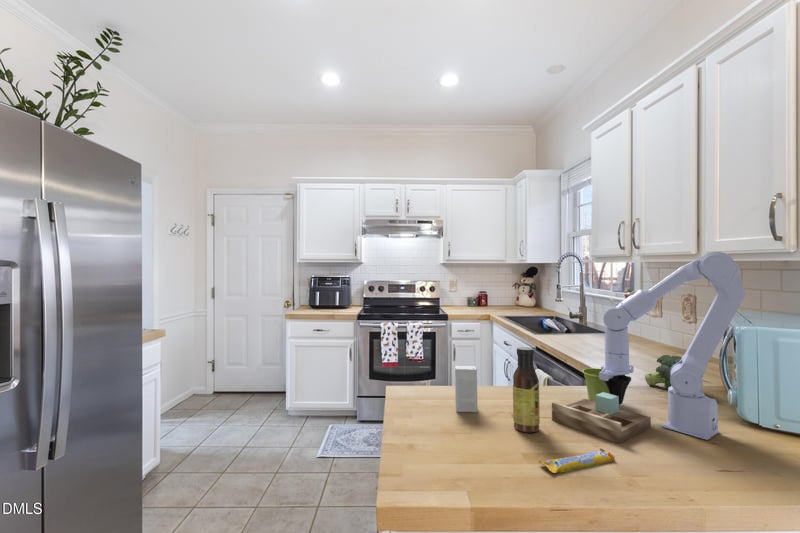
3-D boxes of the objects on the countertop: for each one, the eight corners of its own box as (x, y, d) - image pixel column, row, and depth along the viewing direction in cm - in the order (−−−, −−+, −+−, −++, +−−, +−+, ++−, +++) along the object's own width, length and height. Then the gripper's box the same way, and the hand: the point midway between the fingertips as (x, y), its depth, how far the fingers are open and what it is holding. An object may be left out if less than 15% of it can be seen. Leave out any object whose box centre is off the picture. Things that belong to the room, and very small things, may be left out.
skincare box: (476, 407, 111) (475, 365, 111) (477, 412, 106) (477, 369, 106) (454, 406, 111) (454, 365, 111) (455, 412, 107) (455, 369, 107)
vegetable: (659, 374, 137) (704, 363, 125) (661, 407, 129) (708, 398, 117) (634, 355, 135) (677, 343, 124) (634, 387, 127) (680, 377, 116)
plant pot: (624, 406, 111) (624, 376, 111) (591, 406, 111) (591, 376, 111) (607, 396, 120) (607, 368, 120) (577, 395, 120) (576, 368, 121)
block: (618, 411, 100) (618, 396, 100) (610, 414, 98) (610, 399, 98) (603, 407, 103) (603, 392, 103) (595, 410, 101) (595, 394, 101)
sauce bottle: (541, 435, 92) (540, 351, 92) (514, 432, 93) (513, 350, 93) (537, 424, 98) (536, 346, 98) (512, 422, 100) (511, 345, 100)
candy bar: (601, 454, 83) (601, 446, 83) (618, 463, 79) (618, 454, 79) (537, 468, 78) (537, 458, 78) (551, 478, 74) (551, 468, 74)
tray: (650, 427, 96) (650, 409, 96) (619, 443, 87) (619, 423, 87) (585, 407, 110) (585, 391, 110) (551, 420, 101) (551, 402, 101)
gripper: (615, 346, 111) (615, 393, 111) (587, 353, 103) (588, 404, 103) (641, 351, 105) (641, 400, 105) (614, 358, 97) (615, 411, 97)
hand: (617, 402), depth 104 cm, fingers closed
